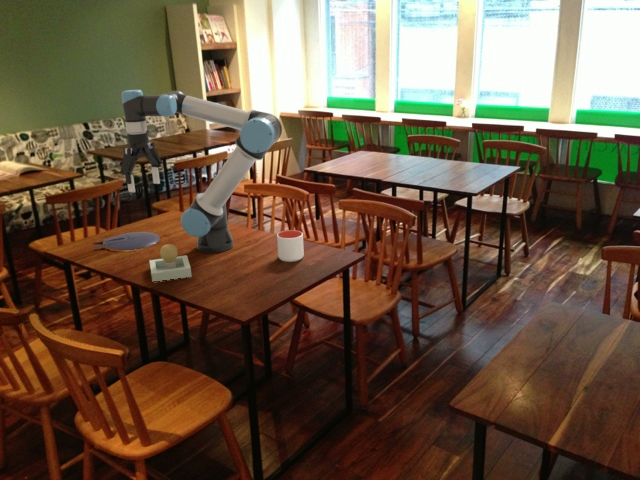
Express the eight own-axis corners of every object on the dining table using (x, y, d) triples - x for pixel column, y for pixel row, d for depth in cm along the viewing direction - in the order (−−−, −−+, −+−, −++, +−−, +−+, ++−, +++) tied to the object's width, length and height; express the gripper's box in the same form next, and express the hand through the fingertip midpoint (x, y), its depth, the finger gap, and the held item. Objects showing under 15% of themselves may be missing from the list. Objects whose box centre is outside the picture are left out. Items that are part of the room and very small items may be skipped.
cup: (308, 255, 232) (307, 231, 229) (296, 264, 223) (295, 239, 220) (285, 252, 236) (284, 228, 233) (273, 261, 228) (272, 236, 224)
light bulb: (170, 274, 215) (167, 248, 212) (158, 271, 219) (155, 245, 215) (183, 268, 220) (180, 243, 217) (171, 265, 224) (168, 240, 220)
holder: (187, 263, 228) (186, 255, 227) (191, 276, 215) (190, 268, 214) (150, 268, 224) (149, 260, 223) (152, 282, 211) (151, 273, 210)
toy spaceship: (90, 257, 239) (89, 249, 238) (97, 238, 261) (95, 231, 260) (160, 249, 245) (159, 242, 244) (161, 231, 267) (160, 225, 266)
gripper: (152, 127, 231) (159, 179, 239) (104, 137, 211) (113, 194, 218) (167, 127, 228) (173, 180, 235) (119, 138, 207) (128, 196, 214)
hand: (144, 187), depth 226 cm, fingers open, 13 cm apart
